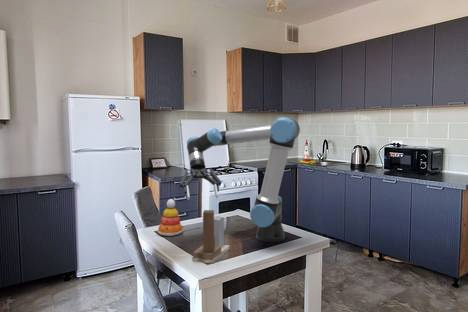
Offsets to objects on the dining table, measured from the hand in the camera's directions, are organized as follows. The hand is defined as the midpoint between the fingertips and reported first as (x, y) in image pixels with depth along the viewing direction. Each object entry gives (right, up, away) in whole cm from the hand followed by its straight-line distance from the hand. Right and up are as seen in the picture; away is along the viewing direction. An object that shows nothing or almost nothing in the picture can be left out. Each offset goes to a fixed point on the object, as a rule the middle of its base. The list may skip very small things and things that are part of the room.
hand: (203, 197), depth 165 cm
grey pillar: (+7, -24, +5) cm, 26 cm away
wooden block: (+3, -23, -6) cm, 24 cm away
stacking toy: (-21, -24, +32) cm, 45 cm away
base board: (+4, -26, -1) cm, 27 cm away
